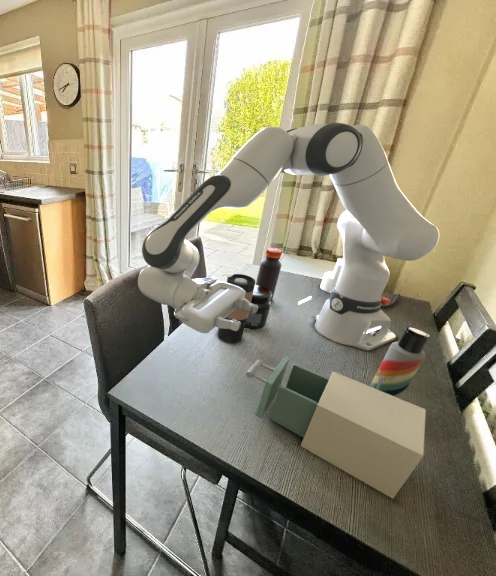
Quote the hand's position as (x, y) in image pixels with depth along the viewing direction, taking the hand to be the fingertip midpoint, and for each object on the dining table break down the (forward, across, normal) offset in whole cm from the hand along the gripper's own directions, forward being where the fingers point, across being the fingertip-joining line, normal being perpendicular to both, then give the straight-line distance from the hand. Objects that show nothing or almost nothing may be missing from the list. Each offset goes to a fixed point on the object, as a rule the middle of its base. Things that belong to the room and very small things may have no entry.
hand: (248, 318), depth 68 cm
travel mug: (-10, +20, +20) cm, 30 cm away
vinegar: (-12, +52, +21) cm, 57 cm away
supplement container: (-9, +32, +21) cm, 39 cm away
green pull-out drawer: (+12, 0, +19) cm, 23 cm away
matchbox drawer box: (+24, 0, +20) cm, 32 cm away
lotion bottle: (+27, +20, +21) cm, 40 cm away
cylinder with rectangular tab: (+6, +81, +21) cm, 84 cm away
